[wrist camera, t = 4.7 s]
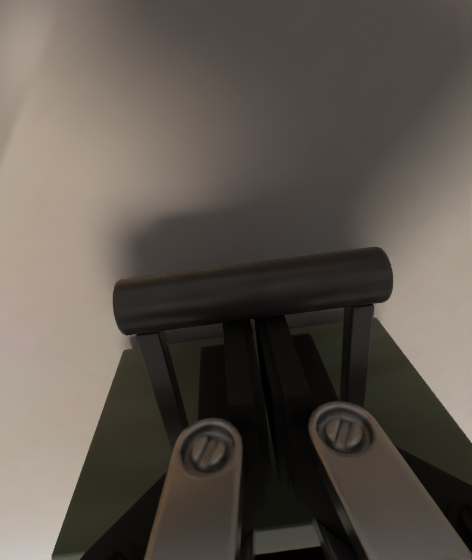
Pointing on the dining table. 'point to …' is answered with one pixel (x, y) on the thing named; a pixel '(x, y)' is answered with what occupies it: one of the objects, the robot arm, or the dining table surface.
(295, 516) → the drawer
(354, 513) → the robot arm
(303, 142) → the dining table surface
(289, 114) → the dining table surface
